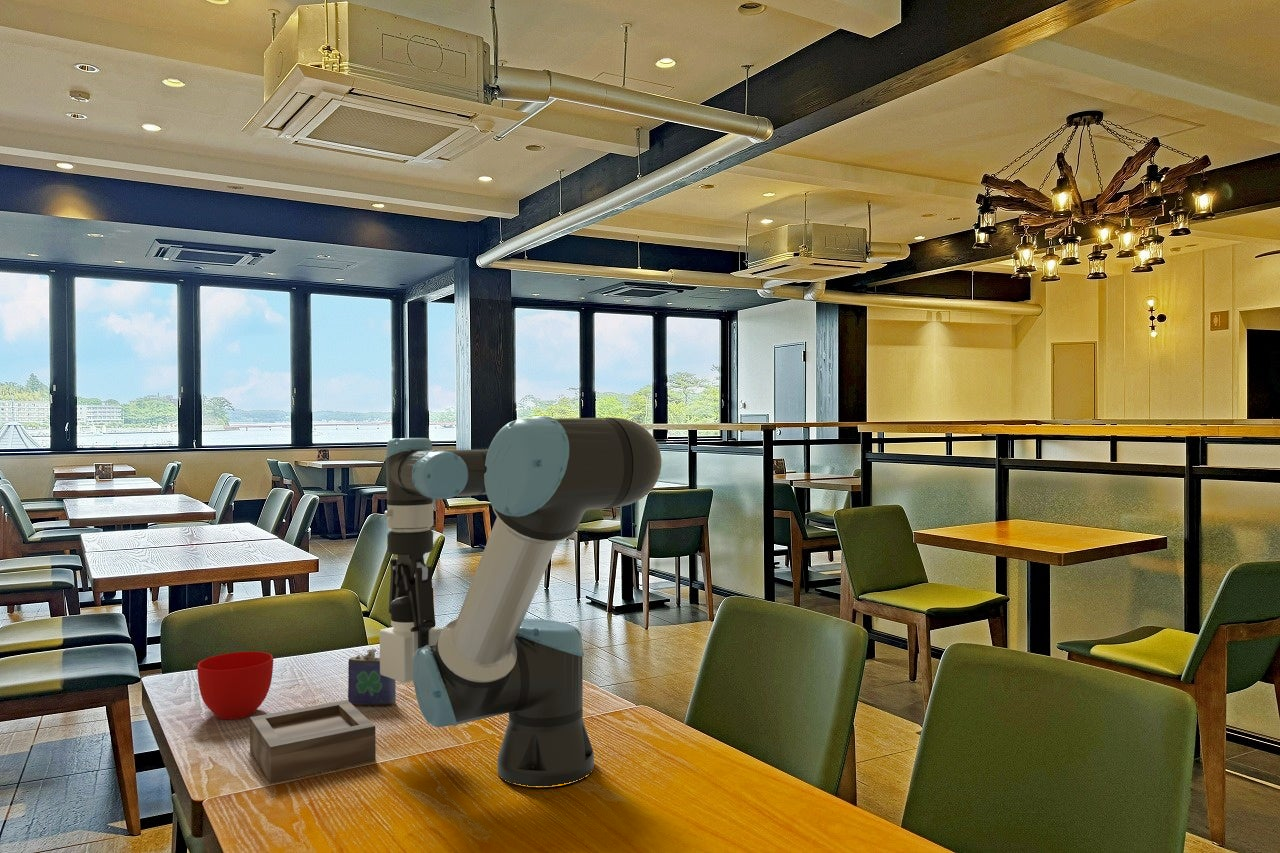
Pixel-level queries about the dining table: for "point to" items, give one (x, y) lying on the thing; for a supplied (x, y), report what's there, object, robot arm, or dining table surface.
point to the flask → (369, 682)
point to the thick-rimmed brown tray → (311, 740)
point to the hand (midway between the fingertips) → (411, 663)
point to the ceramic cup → (235, 682)
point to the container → (400, 642)
